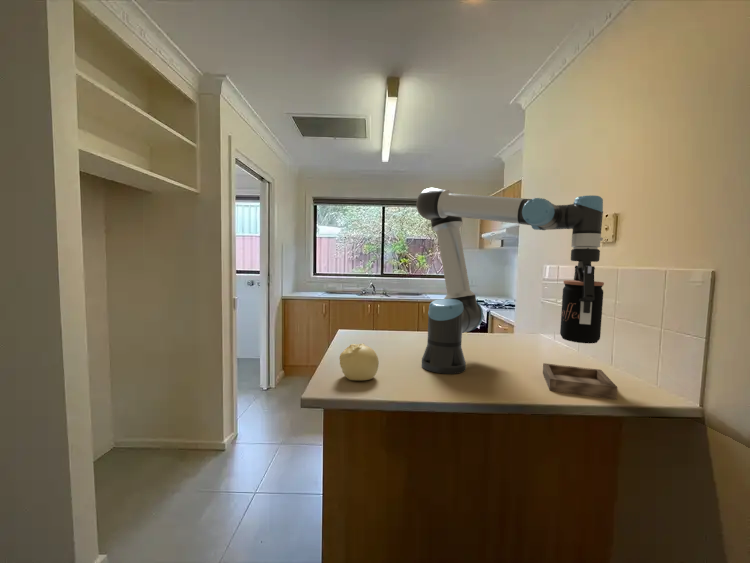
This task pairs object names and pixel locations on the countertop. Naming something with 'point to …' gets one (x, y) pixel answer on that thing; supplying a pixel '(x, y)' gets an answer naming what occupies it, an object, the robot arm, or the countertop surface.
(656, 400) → the countertop surface
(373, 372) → the sculpture
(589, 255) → the robot arm
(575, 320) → the coffee jar
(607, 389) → the wooden tray
